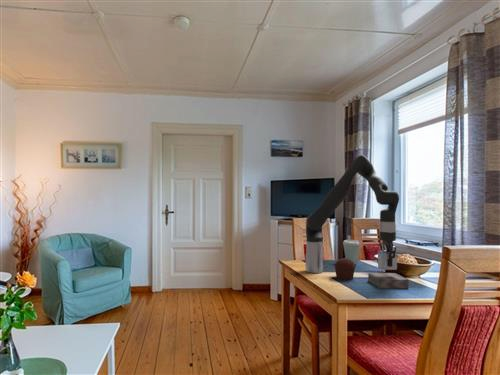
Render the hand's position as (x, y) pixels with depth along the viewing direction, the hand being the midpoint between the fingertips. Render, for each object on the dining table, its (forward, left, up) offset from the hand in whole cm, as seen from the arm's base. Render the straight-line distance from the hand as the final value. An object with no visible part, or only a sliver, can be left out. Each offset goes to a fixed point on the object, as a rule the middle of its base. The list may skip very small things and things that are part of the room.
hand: (387, 265), depth 171 cm
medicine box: (0, 0, -2) cm, 2 cm away
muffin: (-17, +14, -10) cm, 24 cm away
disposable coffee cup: (-1, +52, -10) cm, 53 cm away
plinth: (0, 0, -9) cm, 9 cm away
